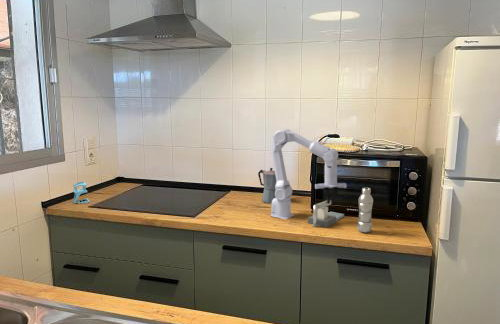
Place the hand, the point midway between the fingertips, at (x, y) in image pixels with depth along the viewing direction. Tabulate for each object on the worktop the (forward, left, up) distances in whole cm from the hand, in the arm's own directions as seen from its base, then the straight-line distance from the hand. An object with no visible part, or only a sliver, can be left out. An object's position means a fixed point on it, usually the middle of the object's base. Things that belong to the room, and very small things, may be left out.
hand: (330, 202), depth 181 cm
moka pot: (-45, +14, -10) cm, 49 cm away
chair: (-131, -53, -10) cm, 142 cm away
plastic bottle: (+18, -2, -10) cm, 20 cm away
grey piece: (-2, -4, -10) cm, 11 cm away
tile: (-3, +8, -10) cm, 13 cm away
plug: (-3, -3, -10) cm, 11 cm away
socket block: (-3, -3, -10) cm, 11 cm away
